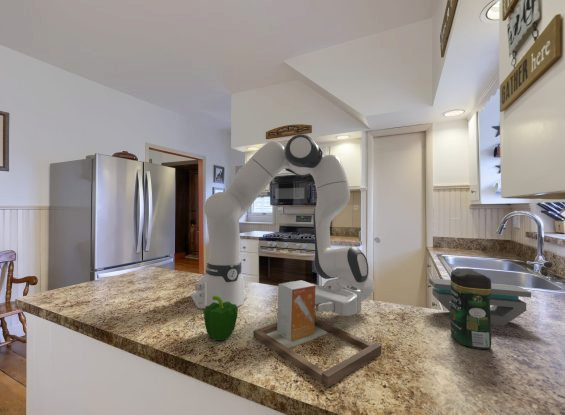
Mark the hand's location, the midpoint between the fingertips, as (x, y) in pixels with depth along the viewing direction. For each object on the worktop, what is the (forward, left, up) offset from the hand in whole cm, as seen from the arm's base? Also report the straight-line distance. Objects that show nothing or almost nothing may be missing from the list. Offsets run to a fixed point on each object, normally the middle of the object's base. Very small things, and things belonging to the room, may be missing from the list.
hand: (304, 303), depth 70 cm
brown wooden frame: (+6, -2, -8) cm, 10 cm away
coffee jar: (+29, +32, -8) cm, 44 cm away
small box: (-1, -2, -8) cm, 8 cm away
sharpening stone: (+26, +52, -8) cm, 58 cm away
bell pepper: (-12, -18, -8) cm, 23 cm away
